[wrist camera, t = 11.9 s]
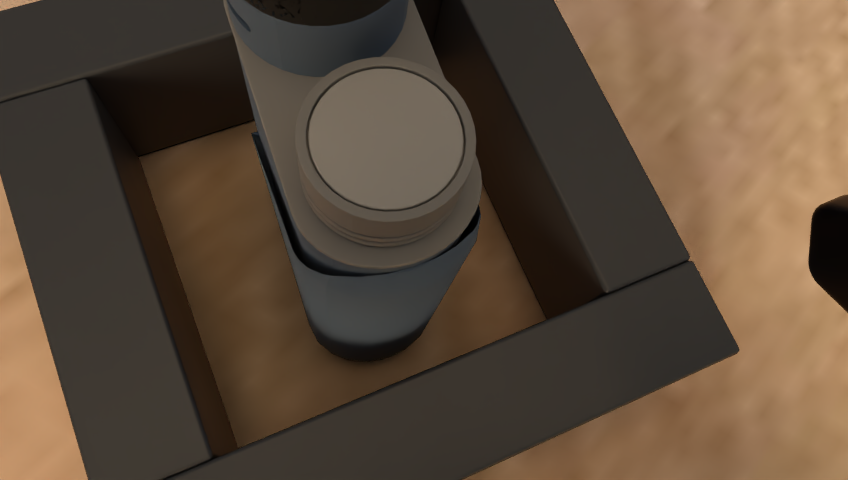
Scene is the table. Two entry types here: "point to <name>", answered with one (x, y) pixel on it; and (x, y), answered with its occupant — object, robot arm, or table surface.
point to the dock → (395, 404)
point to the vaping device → (360, 163)
